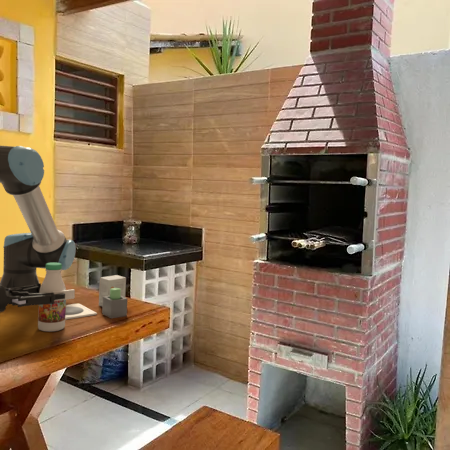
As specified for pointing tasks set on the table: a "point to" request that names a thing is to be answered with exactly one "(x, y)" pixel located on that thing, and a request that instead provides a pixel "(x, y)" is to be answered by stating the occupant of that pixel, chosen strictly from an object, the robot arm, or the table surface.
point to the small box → (111, 286)
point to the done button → (115, 293)
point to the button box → (114, 307)
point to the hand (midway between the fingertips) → (68, 290)
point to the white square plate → (77, 311)
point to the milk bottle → (54, 313)
